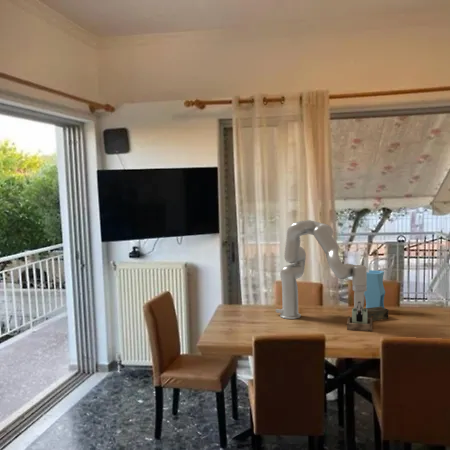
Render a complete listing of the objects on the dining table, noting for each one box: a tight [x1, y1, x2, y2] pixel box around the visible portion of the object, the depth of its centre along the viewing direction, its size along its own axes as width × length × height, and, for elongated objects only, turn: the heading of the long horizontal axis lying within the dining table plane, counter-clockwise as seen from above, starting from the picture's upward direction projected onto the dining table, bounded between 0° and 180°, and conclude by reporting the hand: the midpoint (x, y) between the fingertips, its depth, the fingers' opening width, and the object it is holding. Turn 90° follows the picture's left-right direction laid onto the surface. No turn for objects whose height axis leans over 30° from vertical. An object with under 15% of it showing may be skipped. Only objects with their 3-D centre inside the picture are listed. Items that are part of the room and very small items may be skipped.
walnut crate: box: [346, 316, 373, 332], centre depth 251 cm, size 13×14×4 cm
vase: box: [364, 269, 386, 308], centre depth 282 cm, size 10×10×25 cm
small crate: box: [351, 307, 367, 324], centre depth 251 cm, size 8×6×7 cm
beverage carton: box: [363, 306, 389, 322], centre depth 266 cm, size 8×19×7 cm, turn 110°
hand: (359, 319), depth 251 cm, fingers closed on small crate, 6 cm apart
